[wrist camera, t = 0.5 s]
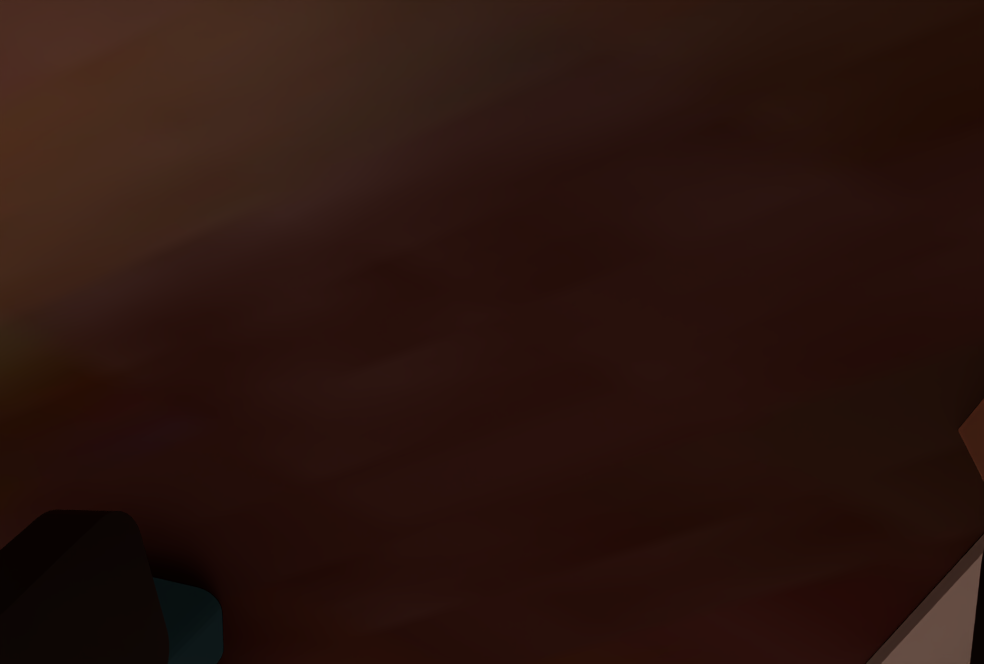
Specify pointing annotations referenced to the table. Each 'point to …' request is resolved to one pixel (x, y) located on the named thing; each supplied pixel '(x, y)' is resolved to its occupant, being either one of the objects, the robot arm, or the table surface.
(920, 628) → the grey rubber mat
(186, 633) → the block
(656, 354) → the table surface
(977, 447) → the terracotta domino
